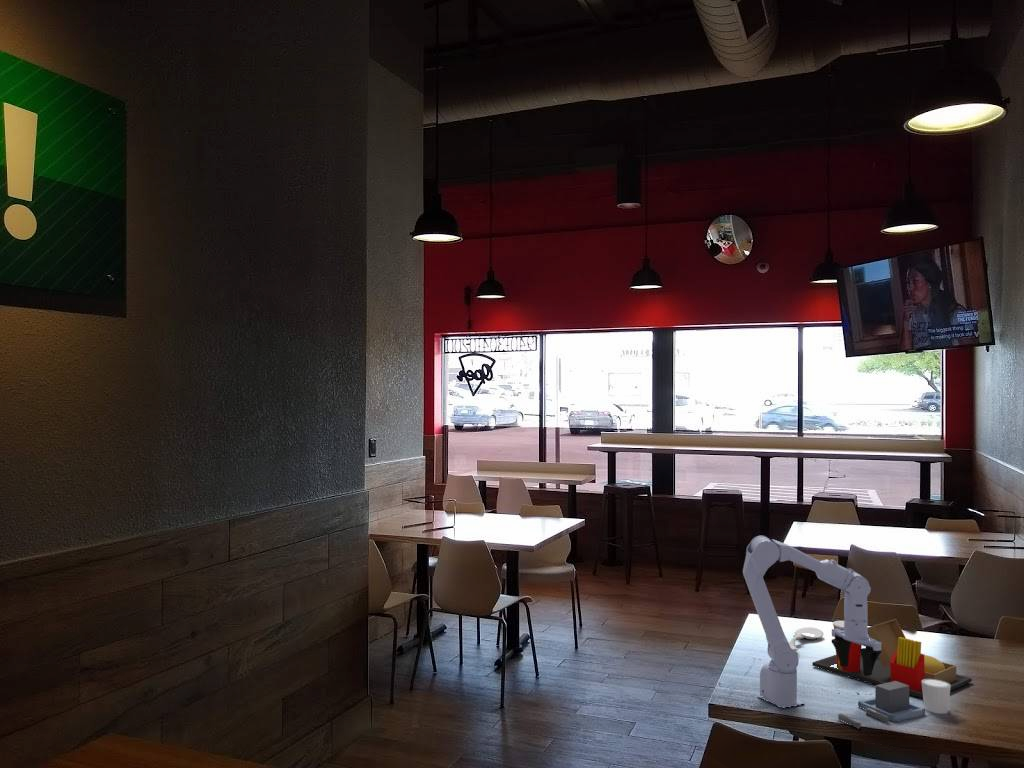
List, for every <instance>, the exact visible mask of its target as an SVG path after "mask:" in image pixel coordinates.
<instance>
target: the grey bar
mask: <svg viewBox="0 0 1024 768" xmlns="http://www.w3.org/2000/svg"><path fill="white" fill-rule="evenodd" d="M874 687H875V689H874V691H875V693H874V694H875V696H874V698H875V702H876V708H878V709H881V710H883V711H886V712H888V713H895V712H899V711H903V710H907V709H909V703H910V695H909V685H906V684H903V683H900V682H897V681H893V682H889V683H884V684H880V685H874Z"/></svg>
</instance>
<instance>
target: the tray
mask: <svg viewBox="0 0 1024 768" xmlns="http://www.w3.org/2000/svg"><path fill="white" fill-rule="evenodd" d="M857 706H859V707H861V708H864V709H866V708H870V709H873V710H875V711H877V712H880V713H882V714H885V715H887V716H889V721H890V720H891V721H890V722H892V721H893V723H895V722H894V721H896V722H899V721H898V720H900V721H903V720H904V719H905V720H908V719H914V718H917V717H922V715H923V716H925V715H926V709H925V708H924V707H921V706H918V705H917V704H914V703H911V702H909V709H907V710H903V711H899V712H895V713H888V712H886V711H883V710H881V709H878V708H876V702H875V697H873V698H872V697H871V698H869V699H867V698H866V699H863V700H862V699H861V700H859V701H857ZM859 707H858V708H859ZM861 708H860V709H861ZM864 709H863V710H864ZM913 717H914V718H913ZM905 720H904V721H905Z"/></svg>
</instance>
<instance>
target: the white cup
mask: <svg viewBox="0 0 1024 768" xmlns="http://www.w3.org/2000/svg"><path fill="white" fill-rule="evenodd" d="M950 688H951V685H950V684H949V683H947V682H945V681H941V680H936V679H924V680H922V691H923V708H924V709H925V711H928V712H930V713H934V714H941V715H945V714H948V713H949V707H950V699H951V698H950V696H951V691H950Z"/></svg>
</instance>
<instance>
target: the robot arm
mask: <svg viewBox="0 0 1024 768" xmlns="http://www.w3.org/2000/svg"><path fill="white" fill-rule="evenodd" d="M777 561H779V563H782V562H785V561H786V562H787V561H790V562H793V563H795V564H798V565H800V566H802V567H803V568H807V569H809V570H811V571H813V572H815V575H816V576H817V579H819V580H820V581H822V582H824V583H826V584H829V585H831V586H832V587H835V588H837V589H839V590H844V594H843V595H844V599H843V602H844V603H843V612H844V613H843V617H844V618H843V621H844V630H841V629H837V628H836V629H834V628H831V637H834V638H832V639H831V644H832V645H833V647H834V649H835V652H836V651H837V654H838V657H839V661H840V665H841V667H846V666H848V664H849V650H850V645H851V642H853V643H856V644H859V645H862V646H863V648H862V647H861V649H860V652H861V655H862V660H863V672H864V675H865V676H869V675H872V671H873V667H874V664H875V662H876V660H877V658H878V656H879V655H880V653H881V643H880V642H878V641H876V640H874V639H872V638H870V637H869V635H868V627H869V626H868V596H869V595H870V593H871V589H872V587H871V586H870V583H869V581H868V579H867V578H865V577H864V576H862V575H861V574H859V573H858V572H857V571H854V569H852V568H847V567H844V566H842V565H840V564H838V562H837V561H836V560H834V559H830V560H829V559H823V560H818V559H816V558H815V557H812V556H811V555H808V554H806V552H805V553H804V552H803V551H801V550H799V549H797V548H795V547H793V546H791V545H789V544H786V543H784V542H781V541H778V540H776V539H773V538H772V539H770V538H769V537H767V536H766V535H758V536H757V535H756V536H755V537H753V538H752V539H751V541H750V543H749V544H748V545H747V546H746V552H745V559H744V563H743V568H742V574H743V575H742V576H743V578H744V579H745V584H746V586H747V589H748V592H749V594H750V596H751V599H752V602H753V605H754V607H755V610H756V612H757V616H758V618H759V619H760V623H761V625H762V628H763V630H764V634H765V639H766V642H767V654H768V656H769V658H770V659H771V660H770V661H769V662H767V663H765V664H764V665H762V667H761V669H760V672H759V694H758V695H759V696H763V697H761V698H764V699H765V700H768V701H769V702H772V703H773V704H776V705H778V706H780V707H782V708H783V707H789V706H794V707H796V706H795V705H799V706H802V705H801V704H804V705H805V702H804V701H801V700H799V699H798V689H797V688H798V666H799V663H800V662H799V656H798V655H797V653H796V652H794V651H793V650H792V648H791V647H790V645H789V640H788V639H787V636H786V634H785V631H784V630H783V627H782V625H781V622H780V619H779V616H778V614H777V612H776V609H775V606H774V603H773V601H772V597H771V595H770V593H769V590H768V587H767V584H766V582H765V580H764V576H765V575H766V572H767V571H768V569H769V568H770V567H771V566H773V565H774V564H775V563H776V562H777ZM761 698H760V699H761ZM765 700H764V701H765ZM769 702H768V703H769ZM773 704H772V705H773ZM782 708H781V709H782ZM789 708H790V707H789Z"/></svg>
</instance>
